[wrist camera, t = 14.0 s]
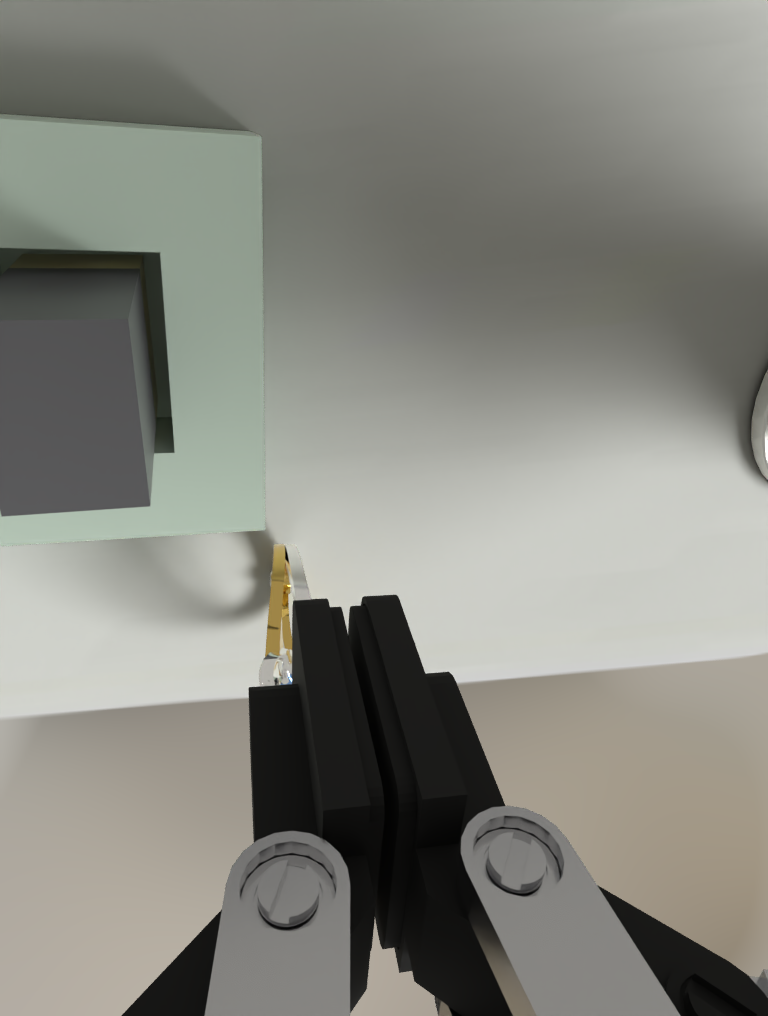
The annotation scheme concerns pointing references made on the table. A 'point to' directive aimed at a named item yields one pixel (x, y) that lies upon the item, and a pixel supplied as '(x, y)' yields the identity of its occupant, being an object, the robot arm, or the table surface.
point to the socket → (159, 301)
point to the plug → (75, 384)
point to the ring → (282, 614)
